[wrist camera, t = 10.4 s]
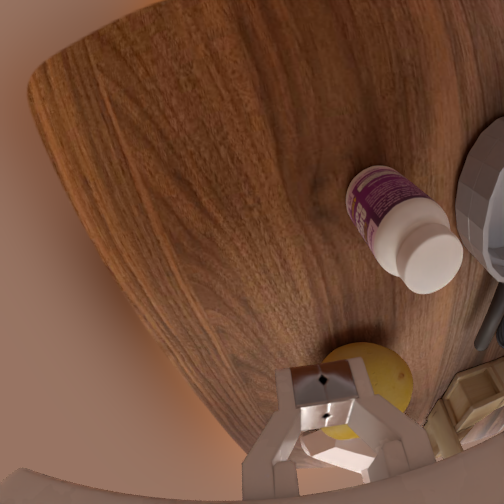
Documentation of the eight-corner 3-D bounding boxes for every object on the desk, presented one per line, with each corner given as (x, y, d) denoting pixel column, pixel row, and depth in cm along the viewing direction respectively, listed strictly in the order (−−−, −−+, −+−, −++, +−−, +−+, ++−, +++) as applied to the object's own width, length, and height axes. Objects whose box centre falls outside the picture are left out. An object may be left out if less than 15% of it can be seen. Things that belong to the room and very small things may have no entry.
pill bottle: (329, 192, 23) (375, 264, 15) (384, 150, 21) (456, 201, 13) (365, 239, 25) (413, 318, 17) (415, 201, 24) (481, 267, 15)
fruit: (287, 376, 34) (297, 454, 26) (342, 312, 29) (371, 398, 21) (355, 389, 37) (373, 456, 28) (410, 334, 32) (443, 405, 23)
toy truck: (398, 440, 49) (409, 479, 41) (367, 454, 51) (376, 492, 44) (336, 407, 39) (349, 465, 31) (295, 426, 41) (302, 481, 34)
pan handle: (500, 265, 24) (511, 277, 23) (512, 263, 24) (523, 274, 23) (469, 344, 30) (476, 356, 29) (481, 340, 30) (488, 352, 28)
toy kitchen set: (483, 405, 47) (507, 461, 34) (418, 429, 47) (439, 494, 34) (522, 347, 37) (560, 411, 24) (452, 374, 38) (489, 456, 25)
